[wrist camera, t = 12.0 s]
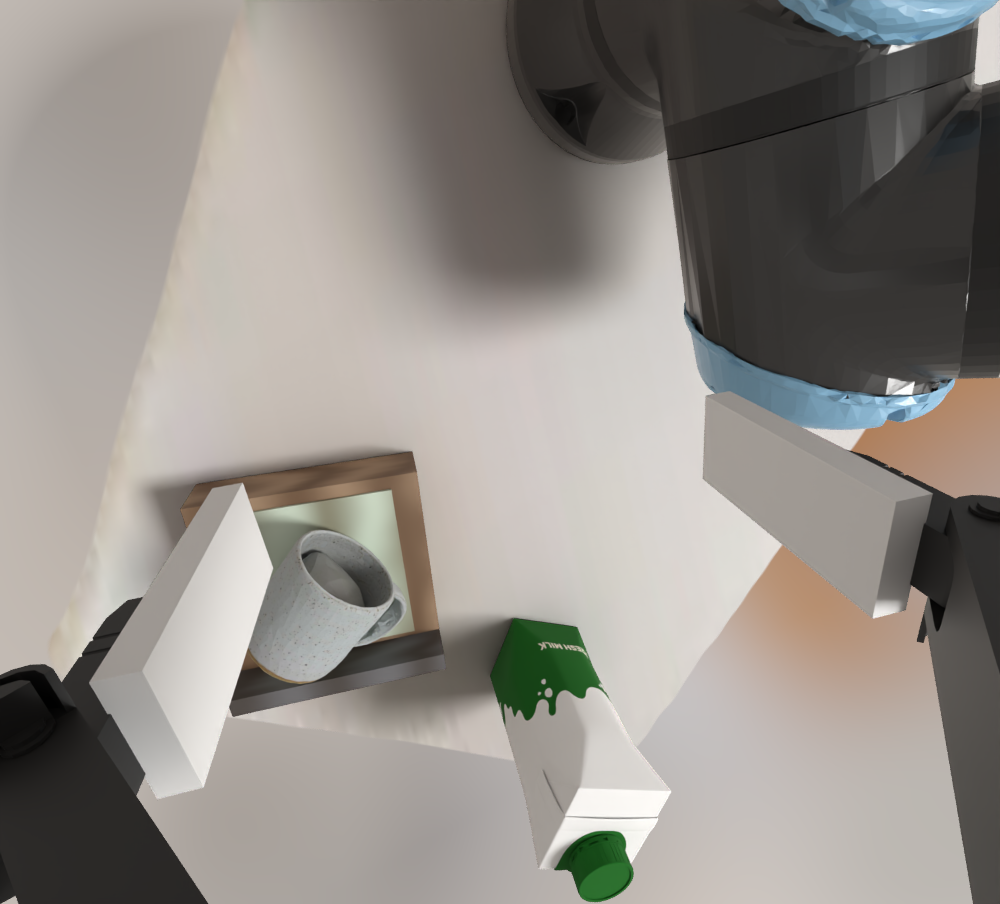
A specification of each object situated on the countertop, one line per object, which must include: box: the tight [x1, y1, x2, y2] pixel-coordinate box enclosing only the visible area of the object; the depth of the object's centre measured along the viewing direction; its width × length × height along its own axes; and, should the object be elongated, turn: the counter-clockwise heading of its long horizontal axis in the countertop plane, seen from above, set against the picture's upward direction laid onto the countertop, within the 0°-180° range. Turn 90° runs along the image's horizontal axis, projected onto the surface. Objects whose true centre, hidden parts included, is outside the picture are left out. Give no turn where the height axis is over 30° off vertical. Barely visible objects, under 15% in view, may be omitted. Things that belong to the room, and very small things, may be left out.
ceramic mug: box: [247, 530, 407, 684], centre depth 38 cm, size 11×8×8 cm
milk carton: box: [490, 618, 671, 902], centre depth 45 cm, size 9×9×20 cm
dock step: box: [180, 452, 446, 717], centre depth 42 cm, size 16×16×7 cm
